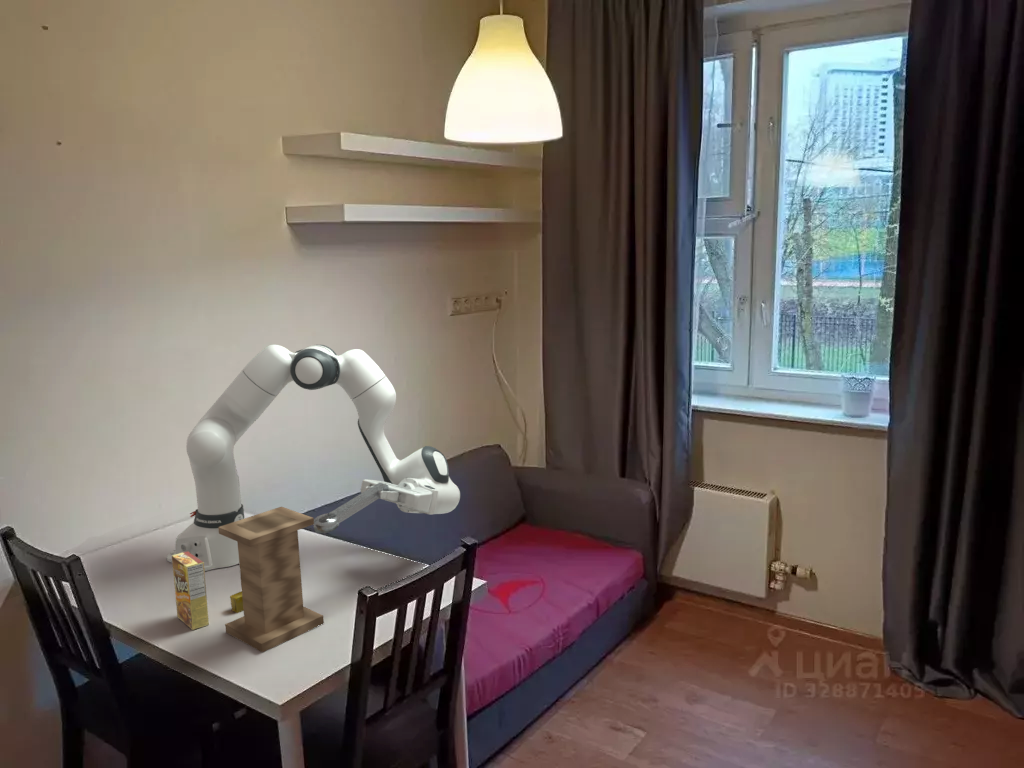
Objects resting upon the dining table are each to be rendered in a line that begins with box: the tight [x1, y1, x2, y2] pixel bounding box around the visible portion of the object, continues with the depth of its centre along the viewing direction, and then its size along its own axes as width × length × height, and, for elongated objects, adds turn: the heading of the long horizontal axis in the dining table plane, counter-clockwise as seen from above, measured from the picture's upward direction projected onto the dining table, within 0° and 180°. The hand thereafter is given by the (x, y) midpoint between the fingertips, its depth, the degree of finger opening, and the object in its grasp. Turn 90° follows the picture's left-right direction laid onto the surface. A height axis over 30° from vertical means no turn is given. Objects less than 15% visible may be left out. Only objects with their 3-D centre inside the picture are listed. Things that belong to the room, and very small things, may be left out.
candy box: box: [171, 551, 210, 631], centre depth 189 cm, size 9×4×15 cm, turn 43°
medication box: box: [229, 590, 244, 614], centre depth 199 cm, size 12×3×4 cm, turn 140°
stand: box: [218, 506, 325, 653], centre depth 184 cm, size 16×14×25 cm
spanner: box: [312, 482, 389, 534], centre depth 199 cm, size 22×6×2 cm, turn 142°
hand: (373, 492), depth 204 cm, fingers closed on spanner, 3 cm apart
